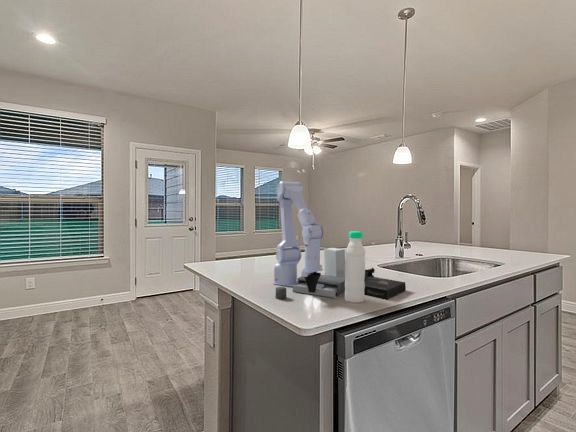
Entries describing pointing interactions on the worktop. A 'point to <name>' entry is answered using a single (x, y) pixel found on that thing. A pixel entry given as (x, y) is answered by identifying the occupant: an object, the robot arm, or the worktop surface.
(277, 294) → the dark grey cylinder
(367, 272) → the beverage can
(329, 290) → the tray
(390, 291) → the portable cd player
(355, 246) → the water bottle
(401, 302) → the worktop surface
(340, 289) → the housing
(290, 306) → the worktop surface
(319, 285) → the disc
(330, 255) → the skincare box
